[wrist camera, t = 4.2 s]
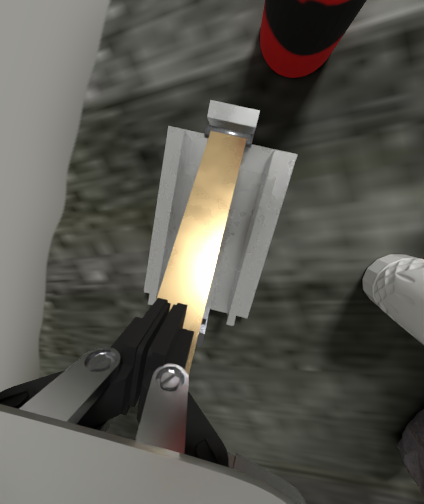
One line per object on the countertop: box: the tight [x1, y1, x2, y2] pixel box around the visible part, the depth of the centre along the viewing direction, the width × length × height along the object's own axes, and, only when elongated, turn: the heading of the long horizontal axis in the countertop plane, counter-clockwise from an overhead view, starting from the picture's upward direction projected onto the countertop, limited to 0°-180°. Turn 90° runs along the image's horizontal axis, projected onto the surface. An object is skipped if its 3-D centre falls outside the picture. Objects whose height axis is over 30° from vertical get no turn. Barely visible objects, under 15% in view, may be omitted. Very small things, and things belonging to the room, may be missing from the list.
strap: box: [156, 124, 254, 375], centre depth 15 cm, size 4×18×1 cm
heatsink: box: [144, 100, 297, 346], centre depth 23 cm, size 14×22×8 cm, turn 167°
